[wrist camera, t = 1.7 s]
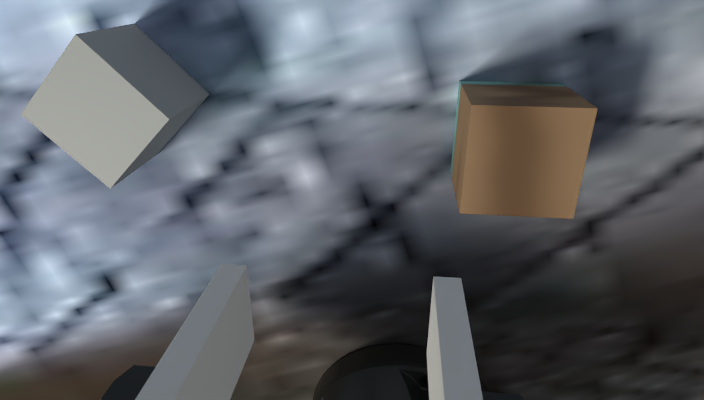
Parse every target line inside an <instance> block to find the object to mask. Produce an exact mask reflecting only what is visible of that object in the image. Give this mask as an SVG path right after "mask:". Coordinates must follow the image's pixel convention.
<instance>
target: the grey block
mask: <svg viewBox="0 0 704 400" xmlns="http://www.w3.org/2000/svg"><path fill="white" fill-rule="evenodd" d="M209 95H210V94H209V93H208V92H207V91H206V90H205V89H203V88H202V87H201V86H200V85H199V84H198V83H197V82H196V81H195V80H194V79H193V78H192V77H191V76H190V75H189V74H187V73H186V72H185V71H184V70H183V69H182V68H181V67H180V66H179V65H178V64H177V63H176V62H175V61H174V60H173V59H172V58H170V57H169V56H168V55H167V54H166V53H165V52H164V51H163V50H162V49H161V48H160V47H159V46H158V45H157V44H156V43H155V42H153V41H152V40H151V39H150V38H149V37H148V36H147V35H146V34H145V33H144V32H143V31H142V30H141V29H140V28H139V27H138V26H136V25H135V24H130V25H124V26H119V27H113V28H108V29H103V30H97V31H92V32H87V33H81V34H76V35H75V36H74V37H73V39H72V40H71V42H70V43H69V45H68V46H67V48H66V49H65V51H64V52H63V54H62V55H61V56H60V58H59V59H58V61H57V62H56V64H55V65H54V67H53V68H52V70H51V71H50V73H49V74H48V75H47V77H46V78H45V80H44V81H43V83H42V84H41V86H40V87H39V89H38V90H37V91H36V93H35V94H34V96H33V97H32V99H31V100H30V102H29V103H28V105H27V106H26V108H25V109H24V110H23V112H22V113H21V115H22V116H23V117H24V118H26V119H27V120H28V121H29V122H30V123H32V124H33V125H34V126H35V127H36V128H38V129H39V130H40V131H41V132H42V133H44V134H45V135H46V136H47V137H48V138H50V139H51V140H52V141H53V142H55V143H56V144H57V145H58V146H59V147H61V148H62V149H63V150H64V151H65V152H67V153H68V154H69V155H70V156H71V157H73V158H74V159H75V160H76V161H77V162H79V163H80V164H81V165H82V166H83V167H85V168H86V169H87V170H88V171H89V172H91V173H92V174H93V175H94V176H95V177H97V178H98V179H99V180H100V181H102V182H103V183H104V184H105V185H106V186H108V187H109V188H112V187H113V186H114V185H116V184H117V183H119V182H120V181H121V180H123V179H124V178H125V177H127V176H128V175H130V174H131V173H132V172H134V171H135V170H136V169H138V168H139V167H141V166H142V165H143V164H145V163H146V162H147V161H149V160H150V159H151V158H153V157H154V156H156V155H157V154H158V153H159V152H160V151H161V149H162V148H163V147H164V146H165V145H166V144H167V143H168V141H169V140H170V139H171V138H172V137H173V136H174V135H175V133H176V132H177V131H178V130H179V129H180V128H181V127H182V125H183V124H184V123H185V122H186V121H187V120H188V119H189V117H190V116H191V115H192V114H193V113H194V112H195V111H196V109H197V108H198V107H199V106H200V105H201V104H202V103H203V101H204V100H205V99H206V98H207V97H208V96H209Z"/></svg>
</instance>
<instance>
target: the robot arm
mask: <svg viewBox="0 0 704 400" xmlns="http://www.w3.org/2000/svg"><path fill="white" fill-rule="evenodd" d="M253 342H254V331H253V322H252V312H251V302H250V293H249V283H248V273H247V265H230V264H221V265H220V266H219V268H218V270H217V271H216V273H215V274H214V276H213V277H212V279H211V281H210V282H209V284H208V285H207V287H206V288H205V290H204V292H203V293H202V295H201V296H200V298H199V300H198V301H197V303H196V304H195V306H194V307H193V309H192V311H191V312H190V314H189V315H188V317H187V318H186V320H185V322H184V323H183V325H182V326H181V328H180V329H179V331H178V333H177V334H176V336H175V337H174V339H173V341H172V342H171V344H170V345H169V347H168V348H167V350H166V352H165V353H164V355H163V356H162V358H161V359H160V361H159V363H158V364H157V366H156V367H149V366H137V365H134V366H132V367H131V368H130V369H128V370H127V371H126V372H125V373H123V374H122V375H121V376H120V377H118V378H117V379H116V380H115V381H114V382H113V383H112V384H111V386H110V387H109V389H108V390H107V391H106V393H105V394H104V396H103V397H102V398H101V400H230V398H231V396H232V393H233V391H234V388H235V386H236V383H237V381H238V379H239V376H240V374H241V371H242V369H243V366H244V364H245V362H246V359H247V357H248V354H249V352H250V349H251V347H252V345H253ZM313 400H524V399H523V398H522V397H521V396H520V394H508V393H496V392H487V390H486V388H485V387H484V385H483V384H482V382H481V381H480V380H479V374H478V369H477V363H476V358H475V352H474V347H473V341H472V336H471V330H470V325H469V319H468V314H467V308H466V303H465V297H464V292H463V286H462V280H461V278H451V277H434V276H433V286H432V297H431V308H430V320H429V331H428V342H427V348H424V347H420V346H414V345H403V344H389V345H380V346H374V347H369V348H365V349H362V350H359V351H356V352H354V353H351V354H349V355H347V356H345V357H344V358H342V359H340V360H339V361H337V362H336V363H335V364H333V365H332V366H331V367H330V368H329V369H328V370H327V371H326V372H325V373H324V374H323V376H322V377H321V379H320V380H319V382H318V384H317V386H316V389H315V392H314V396H313Z"/></svg>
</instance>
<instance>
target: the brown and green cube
mask: <svg viewBox="0 0 704 400" xmlns="http://www.w3.org/2000/svg"><path fill="white" fill-rule="evenodd" d="M597 109H598V108H596V107H595V106H594V105H592V104H591V103H589V102H588V101H586V100H585V99H584V98H582V97H581V96H579V95H578V94H577V93H575V92H574V91H572V90H571V89H569V88H568V87H567V86H565V85H564V84H562V83H531V82H488V81H459V90H458V100H457V111H456V121H455V131H454V142H453V152H452V163H451V178H452V182H453V186H454V191H455V195H456V200H457V204H458V208H459V213H460V214H481V215H503V216H524V217H546V218H567V219H573V218H574V213H575V209H576V204H577V200H578V195H579V191H580V186H581V182H582V177H583V172H584V168H585V163H586V159H587V154H588V150H589V145H590V141H591V136H592V132H593V127H594V123H595V118H596V114H597Z"/></svg>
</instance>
